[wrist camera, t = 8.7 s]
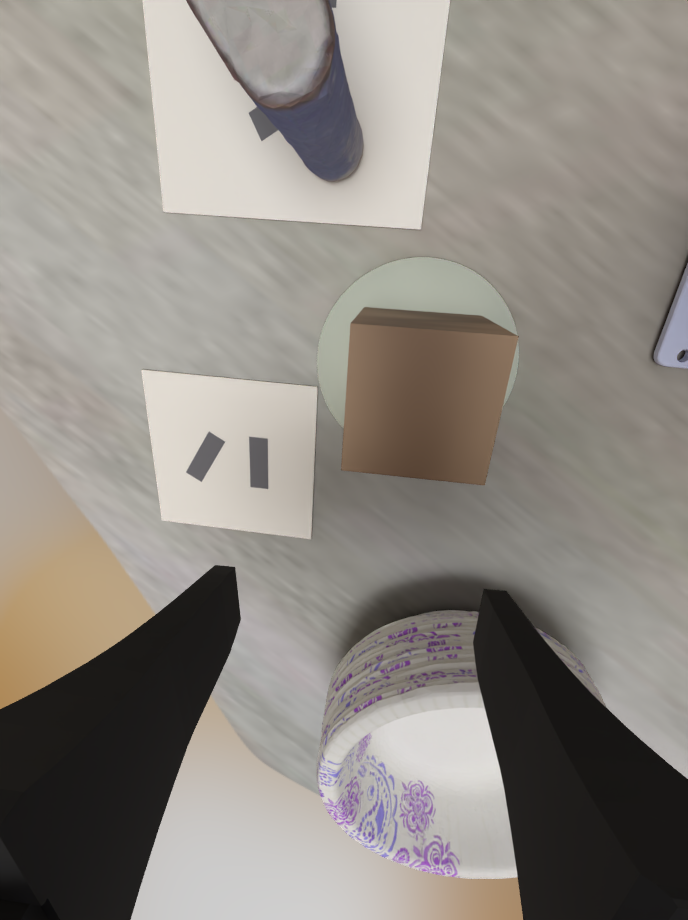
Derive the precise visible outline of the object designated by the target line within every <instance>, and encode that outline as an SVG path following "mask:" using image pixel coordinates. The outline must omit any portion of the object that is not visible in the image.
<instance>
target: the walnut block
mask: <svg viewBox="0 0 688 920" xmlns="http://www.w3.org/2000/svg"><path fill="white" fill-rule="evenodd" d="M518 337H519V336H517V335H516V334H514V333H512V332H510V331H508V330H507V329H505V328H503V327H501V326H499V325H498V324H496V323H494V322H492V321H491V320H489V319H487V318H485V317H483V316H480V315H466V314H453V313H439V312H425V311H412V310H398V309H385V308H371V307H364V308H363V309H362V311H361V312H360V313H359V314H358V315H357V316H356V317H355V319H354V320H353V321H352V322H351V323H350V338H349V354H348V369H347V385H346V401H345V417H344V433H343V448H342V464H341V470H344V471H353V472H363V473H372V474H382V475H391V476H400V477H410V478H419V479H429V480H438V481H448V482H457V483H467V484H476V485H485V482H486V477H487V473H488V468H489V464H490V460H491V455H492V451H493V447H494V442H495V438H496V433H497V429H498V425H499V420H500V416H501V412H502V407H503V403H504V399H505V394H506V390H507V385H508V381H509V377H510V372H511V368H512V364H513V359H514V355H515V350H516V346H517V342H518Z"/></svg>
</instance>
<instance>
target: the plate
mask: <svg viewBox="0 0 688 920" xmlns="http://www.w3.org/2000/svg"><path fill="white" fill-rule="evenodd" d="M364 307H371V308H385V309H398V310H412V311H425V312H439V313H453V314H466V315H480V316H483V317H485V318H487V319H489V320H491V321H492V322H494V323H496V324H498V325H499V326H501V327H503V328H505V329H507V330H508V331H510V332H512V333H514V334H516V335H517V331H516V327H515V323H514V320H513V318H512V315H511V313H510V310H509V309H508V307H507V305H506V303H505V302H504V300H503V298H502V297H501V296H500V295H499V293H498V292H497V291H496V290H495V288H494V287H493V286H492V285H491V284H490V283H489V282H487V281H486V280H485V279H484V278H483V277H482V276H480V275H479V274H477V273H476V272H474V271H473V270H471V269H469V268H467V267H465V266H463V265H461V264H458V263H455V262H452V261H448V260H445V259H439V258H432V257H413V258H406V259H400V260H397V261H393V262H390V263H387V264H384V265H382V266H380V267H378V268H375V269H373V270H372V271H370V272H368V273H367V274H365V275H364V276H362V277H361V278H359V279H358V280H357V281H356V282H355V283H353V284H352V285H351V286H350V287H349V288H348V289H347V290H346V291H345V292H344V293H343V294H342V295H341V297H340V298H339V299H338V301H337V302H336V304H335V305H334V306H333V308H332V310H331V311H330V313H329V315H328V317H327V319H326V321H325V324H324V327H323V329H322V332H321V336H320V340H319V344H318V352H317V373H318V380H319V385H320V388H321V392H322V395H323V397H324V400H325V402H326V404H327V407H328V408H329V410H330V412H331V413H332V415H333V417H334V418H335V419H336V420H337V422H338V423H339V424H340V426H341V427H342V428H343V429H344V417H345V401H346V385H347V369H348V354H349V338H350V323H351V322H352V321H353V320H354V319H355V317H356V316H357V315H358V314H359V313H360V312H361V311H362V309H363V308H364ZM517 336H518V335H517ZM518 364H519V344H518V342H517V346H516V350H515V355H514V359H513V364H512V368H511V372H510V377H509V381H508V385H507V390H506V394H505V399H504V403H503V407H504V405H505V403H506V402H507V400H508V397H509V395H510V393H511V391H512V388H513V385H514V382H515V379H516V375H517V369H518ZM503 407H502V408H503Z"/></svg>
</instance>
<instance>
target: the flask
mask: <svg viewBox="0 0 688 920" xmlns="http://www.w3.org/2000/svg"><path fill="white" fill-rule="evenodd" d="M186 1H187V3H188V5H189V7H190V9H191V10H192V12H193V14H194V15H195V17H196V18H197V20H198V22H199V23H200V25H201V26H202V28H203V29H204V31H205V33H206V34H207V36H208V38H209V39H210V41H211V43H212V44H213V46H214V48H215V49H216V51H217V52H218V54H219V56H220V57H221V59H222V60H223V62H224V63H225V65H226V67H227V68H228V70H229V72H230V73H231V75H232V77H233V78H234V80H236V81H237V82H239V84H240V85H241V86H242V88H243V89H244V90H245V92H246V93H247V94H248V96H249V97H250V98H251V99H252V100H253V102H254V103H255V105H256V106H257V107H258V108H259V109H260V110H261V111H262V112H263V113H264V114H265V115H266V116H267V117H268V119H269V120H270V121H271V123H272V124H273V125H274V126H275V127H276V128H277V129H278V130H279V131H280V132H281V134H282V135H283V137H284V138H285V140H286V141H287V142H288V143H289V144H290V145H291V146H292V147H293V148H294V150H295V151H296V152H297V154H298V155H299V157H300V158H301V159H302V161H303V162H304V164H305V166H306V167H307V168H308V169H309V170H310V171H311V172H312V173H314V174H315V175H316V176H318V177H319V178H321V179H323V180H325V181H328V182H336V181H340V180H342V179H345V178H347V177H349V176H350V175H351V174H352V173H353V172H354V171H355V170H356V169H357V167H358V166H359V164H360V161H361V158H362V155H363V148H364V142H363V134H362V129H361V126H360V123H359V121H358V119H357V116H356V112H355V108H354V104H353V100H352V97H351V94H350V90H349V85H348V82H347V78H346V74H345V69H344V65H343V61H342V56H341V52H340V45H339V36H338V34H337V32H336V26H335V19H334V14H333V10H332V7H331V3H330V0H186Z"/></svg>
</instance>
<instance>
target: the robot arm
mask: <svg viewBox="0 0 688 920" xmlns="http://www.w3.org/2000/svg"><path fill="white" fill-rule="evenodd" d="M682 350H685V355H684V357H683V358H682V359H680V360H677V355H678V353H679V352H680V351H682ZM653 357H654V361H655V362H656V363H657V364H659V365H662V366H666V367H676V368H688V264H687V266H686V269H685V272H684V274H683V277H682V280H681V282H680V285H679V288H678V290H677V293H676V296H675V298H674V301H673V304H672V306H671V309H670V312H669V314H668V317H667V320H666V322H665V325H664V327H663V330H662V333H661V335H660V338H659V341H658V343H657V346H656V349H655V351H654V356H653ZM240 620H241V617H240V608H239V599H238V590H237V581H236V572H235V567H229V566H218V565H215V566H214V567H213V568H211V569H210V570H209V571H208V572H207V573H205V574H204V575H203V576H202V577H201V578H199V579H198V580H197V581H196V582H195V583H194V584H192V585H191V586H190V587H189V588H188V589H186V590H185V591H184V592H183V593H182V594H181V595H179V596H178V597H177V598H176V599H174V600H173V601H172V602H171V603H170V604H168V605H167V606H166V607H165V608H163V609H162V610H161V611H160V612H159V613H157V614H156V615H155V616H153V617H152V618H151V619H149V620H148V621H147V622H146V623H144V624H143V625H141V626H140V627H139V628H137V629H136V630H135V631H134V632H132V633H131V634H129V635H128V636H127V637H125V638H124V639H122V640H121V641H120V642H118V643H117V644H115V645H114V646H112V647H111V648H109V649H108V650H106V651H105V652H103V653H101V654H100V655H98V656H97V657H96V658H94V659H92V660H90V661H89V662H88V663H86V664H84V665H82V666H81V667H79V668H77V669H75V670H73V671H72V672H70V673H68V674H66V675H65V676H63V677H61V678H60V679H58V680H56V681H54V682H52V683H51V684H49V685H48V686H45V687H44V688H42V689H40V690H38V691H36V692H34V693H32V694H30V695H28V696H26V697H24V698H22V699H20V700H19V701H16V702H14V703H12V704H10V705H8V706H6V707H4V708H2V709H0V920H130V919H131V916H132V913H133V909H134V906H135V902H136V899H137V896H138V892H139V889H140V886H141V882H142V879H143V876H144V872H145V870H146V867H147V863H148V860H149V857H150V854H151V851H152V848H153V845H154V842H155V838H156V835H157V832H158V829H159V826H160V823H161V820H162V817H163V814H164V811H165V809H166V806H167V803H168V800H169V797H170V794H171V791H172V788H173V785H174V782H175V780H176V777H177V774H178V771H179V768H180V766H181V763H182V760H183V757H184V755H185V752H186V749H187V746H188V744H189V741H190V739H191V736H192V734H193V732H194V729H195V727H196V725H197V723H198V721H199V718H200V716H201V714H202V712H203V710H204V708H205V706H206V704H207V702H208V699H209V697H210V695H211V693H212V691H213V689H214V686H215V684H216V682H217V680H218V678H219V676H220V673H221V671H222V669H223V667H224V665H225V663H226V660H227V658H228V656H229V654H230V651H231V648H232V645H233V642H234V639H235V636H236V633H237V630H238V626H239V623H240ZM473 647H474V655H475V663H476V670H477V677H478V682H479V687H480V691H481V695H482V699H483V703H484V707H485V711H486V715H487V719H488V723H489V727H490V731H491V735H492V739H493V743H494V747H495V751H496V755H497V759H498V763H499V767H500V771H501V776H502V781H503V786H504V791H505V797H506V804H507V810H508V816H509V822H510V828H511V835H512V842H513V848H514V855H515V862H516V869H517V876H518V882H519V889H520V897H521V905H522V911H523V920H688V779H687V778H685V777H684V776H683V775H682V774H681V773H679V772H678V771H677V770H676V769H674V768H673V767H672V766H671V765H669V764H668V763H667V762H666V761H665V760H664V759H662V758H661V757H660V756H659V755H658V754H657V753H655V752H654V751H653V750H652V749H651V748H650V747H648V746H647V745H646V744H645V743H644V742H643V741H641V740H640V739H639V738H638V737H637V736H636V735H635V734H634V733H633V732H631V731H630V730H629V729H628V728H627V727H626V726H625V725H624V724H623V723H622V722H621V721H620V720H619V719H617V718H616V717H615V716H614V715H613V714H612V713H611V712H610V711H609V710H608V709H607V708H606V707H605V706H604V705H603V704H602V703H601V702H600V701H599V700H598V699H597V698H596V697H595V696H594V695H593V694H592V693H591V692H590V691H589V690H588V689H587V688H586V687H585V686H584V685H583V684H582V682H581V681H580V680H579V679H578V678H577V677H576V676H575V675H574V674H573V673H572V672H571V670H570V669H569V668H568V667H567V666H566V665H565V664H564V662H563V661H562V660H561V659H560V658H559V657H558V655H557V654H556V653H555V652H554V651H553V649H552V648H551V647H550V646H549V645H548V644H547V642H546V641H545V640H544V639H543V637H542V636H541V635H540V634H539V633H538V631H537V630H536V629H535V627H534V626H533V625H532V624H531V622H530V621H529V620H528V619H527V617H526V616H525V615H524V613H523V612H522V611H521V609H520V608H519V607H518V605H517V604H516V603H515V602H514V600H513V599H512V598H511V596H510V595H509V594H508V593H507V592H506V591H499V590H488V589H484V590H483V595H482V600H481V605H480V610H479V615H478V620H477V625H476V630H475V635H474V640H473Z"/></svg>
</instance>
